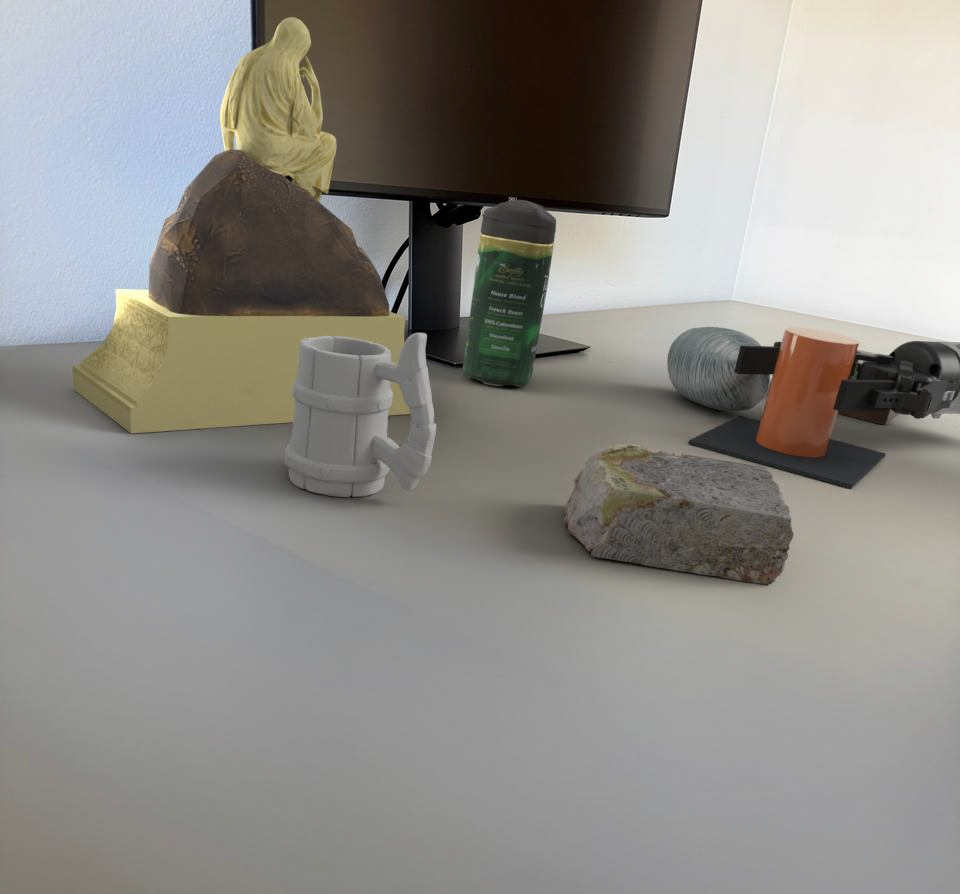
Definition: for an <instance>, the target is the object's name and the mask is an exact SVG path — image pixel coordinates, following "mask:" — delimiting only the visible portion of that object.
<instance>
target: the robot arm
mask: <svg viewBox="0 0 960 894" xmlns="http://www.w3.org/2000/svg"><path fill="white" fill-rule="evenodd" d="M781 343H782V341H775V342H774V343H773V346H771V345H770V346H768V345H761V346H743V345H741V346H740V350H739V354H738V358H737V363H736V367H735V371H734V372H735V373H737V374H765V375H770V376H771V375H772V376H773V373H774V369H775V365H776V361H777V358H778V354H779V350H780V347H781ZM875 354H876V355H868V354H861V353H860V352H858V351H857V353H856V356H855V359H854V362H853V366H852V369H851V372H850V376H849V379H848V380H842V381H841V384H840V387H839V391H838V394H837V398H836V401H835V404H834V408H833V409H834V410H837V411H887V410H888V408H890V409H891V410H892V411H894V412H895V413H899V414H898V415H903V416H911V417H913V418H914V419H918V420H919V419H925V418H926V417H928V416H930V415H931V418H932V419H936V420H938V419H940V418H941V416H942V415H947V414H948V415H956V414H959V415H960V341H939V340H938V341H929V340H927V341H925V340H911V341H908V342H907V341H906V342H905V343H902V344H900V345H899V346H897V347H895V348H894V349H893V350H892V351H891V352H890V353H889V354H882V353H875ZM859 360H863V362H862V361H859ZM856 371H858V373H857V376H856V380H850V379H851V376H854V375H855V372H856Z"/></svg>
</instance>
